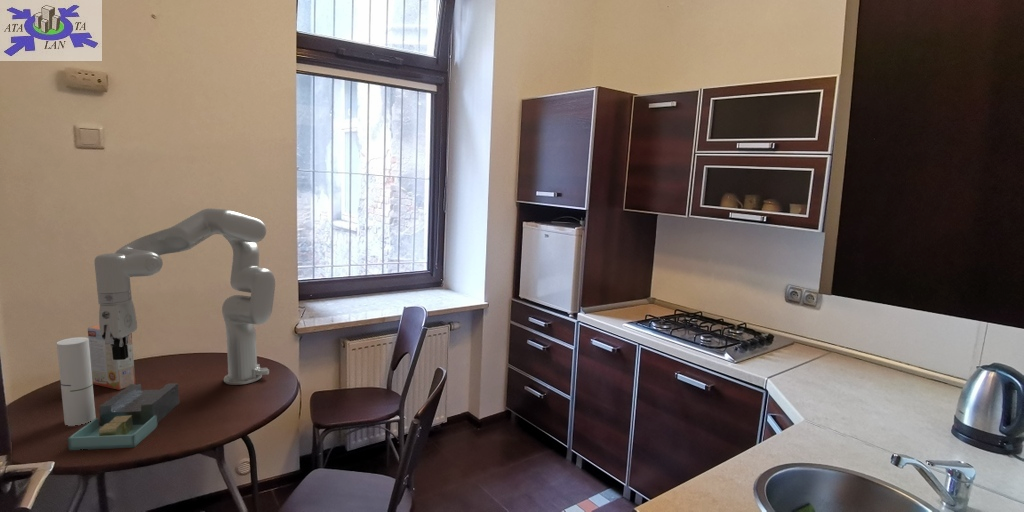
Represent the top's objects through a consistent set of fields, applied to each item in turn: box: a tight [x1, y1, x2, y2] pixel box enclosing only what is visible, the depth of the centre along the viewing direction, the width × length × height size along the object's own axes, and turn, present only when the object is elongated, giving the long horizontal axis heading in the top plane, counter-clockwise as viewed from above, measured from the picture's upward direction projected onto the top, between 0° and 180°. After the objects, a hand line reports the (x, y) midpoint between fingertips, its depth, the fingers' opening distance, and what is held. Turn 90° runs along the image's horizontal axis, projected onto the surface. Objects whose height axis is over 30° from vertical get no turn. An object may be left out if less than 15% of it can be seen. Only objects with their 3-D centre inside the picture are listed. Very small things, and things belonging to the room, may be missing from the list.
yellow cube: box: [99, 422, 124, 436], centre depth 142 cm, size 4×4×4 cm
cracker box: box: [87, 324, 136, 391], centre depth 178 cm, size 14×6×21 cm, turn 71°
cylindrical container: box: [56, 336, 97, 427], centre depth 152 cm, size 7×7×25 cm
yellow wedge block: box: [109, 415, 133, 435], centre depth 146 cm, size 4×4×4 cm
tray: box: [67, 416, 158, 451], centre depth 144 cm, size 16×12×4 cm
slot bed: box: [99, 382, 180, 426], centre depth 157 cm, size 14×16×7 cm
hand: (120, 358), depth 147 cm, fingers closed
